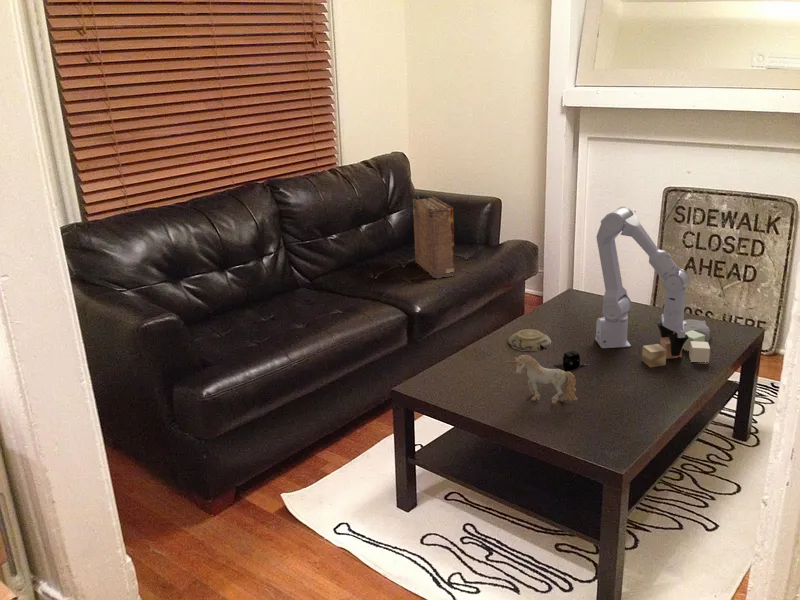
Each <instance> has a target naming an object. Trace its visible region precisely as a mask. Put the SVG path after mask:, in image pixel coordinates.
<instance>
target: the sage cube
mask: <svg viewBox="0 0 800 600" xmlns="http://www.w3.org/2000/svg"><path fill="white" fill-rule="evenodd" d="M685 334H687V335H688V339H687V340H686V342H685V343H684V345H683V347H682V350H683V349H684V351H686V350H687V351H686V352H688V351H689V350H690V341H698V342H706V341H705V335H703V334H701V333H698V332H696V331H694V330H691V331H688V332H685Z"/></svg>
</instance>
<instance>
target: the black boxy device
mask: <svg viewBox="0 0 800 600" xmlns="http://www.w3.org/2000/svg"><path fill="white" fill-rule="evenodd" d="M587 366H588V367H589V366H590V364H589V363H587V362H585V361H583V360H582V359H581V356H580V352H577V351H575V350H570V351H567V352H564V353H563V355H562V362H561V363H559V364H555V365H553V367H555V369H560V370H563V371H565V372H568V371H569V372H571V371H574V370H577V369H579V368H584V367H587Z"/></svg>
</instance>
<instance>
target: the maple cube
mask: <svg viewBox="0 0 800 600" xmlns="http://www.w3.org/2000/svg"><path fill="white" fill-rule="evenodd" d="M666 352H667V350H666V349H664V348H663V347H662V346H660V343H656V344H655V343H654V344H647V345H642V352H641V362H642V363H644V364H645V365H647V366H648V367H649V368H655V367H663V366H666V362H667V359H666Z"/></svg>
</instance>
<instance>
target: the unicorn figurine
mask: <svg viewBox="0 0 800 600" xmlns="http://www.w3.org/2000/svg"><path fill="white" fill-rule="evenodd" d="M514 359H515V360H505V363H508V364H515V366H516V371H515V373H516V374H517V375H521V374H522V372H523V371H522V370H523V369H524V368H526V369H527V370H526V371H527V372H526V373H527V374H526V375H527V377H528V380H527V386H528V389H529V391H530V392H531V394H532V395H533V396H532V398H531V399H530V400H531V401H532V400H533V401H532V402H536V400H537V401H540V397H541V393H540V392H539V391H538V389H539V388H538V385H537V383H540V384H544V385H549V384H552V385H553V386H554V388H555V390H556V391H557V393H555V395H553V396H552V397H551V405H552V406H555V404H557V401H558V402H561V403H562V402H563V401H567V400H569V401H570V402H572V400H573V401H578V397H576V395H575V393H576V391H577V389H576V387H575V386H576V382H577V380H576V378H575V375H574V374H573V373H572V372H571V371H568V372H565V371H563V370H560V369H558V368H546V367H543V366H541V364H540V363H539V361H537V360H536V359H535V358H534V357H532V356H530V355H528V354H522V355H519V356H518V357H516V356H514ZM565 383H566V384H565ZM534 395H535V396H534ZM561 395H562V396H561ZM559 396H560V397H559Z"/></svg>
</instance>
